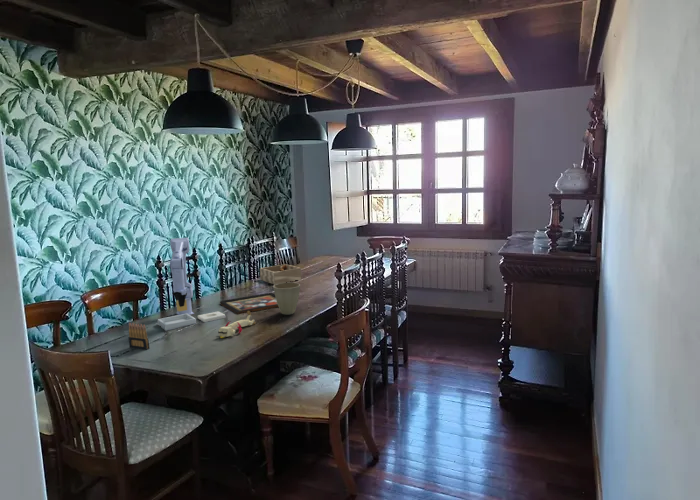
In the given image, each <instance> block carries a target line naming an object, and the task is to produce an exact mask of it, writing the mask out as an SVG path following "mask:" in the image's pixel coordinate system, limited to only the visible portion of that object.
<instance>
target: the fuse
mask: <svg viewBox="0 0 700 500" xmlns="http://www.w3.org/2000/svg"><path fill="white" fill-rule="evenodd" d="M175 303H176V310H177V311H184V310H187V301H186V300H185V304H184V306H182V307H180V306H179V302H178V300H176V299H175ZM177 311H176V312H177Z"/></svg>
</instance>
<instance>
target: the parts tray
mask: <svg viewBox="0 0 700 500" xmlns="http://www.w3.org/2000/svg"><path fill="white" fill-rule="evenodd" d="M157 324H158V326H159V327H160V326H161V327H160V328H161V329H163V330H164V331H165V332H167V331H171V330H174V329H178V328H182V327H187V326H191V325H196V324H197V318H195V317H194V316H192V314H190V315H189V314H188V313H187V314H182V315H178V314H176V315H172V316H168V317H167V316H166V317H163V318H157Z"/></svg>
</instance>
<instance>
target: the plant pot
mask: <svg viewBox="0 0 700 500" xmlns="http://www.w3.org/2000/svg"><path fill="white" fill-rule="evenodd" d="M272 288H273V293H274V294H275V297H276V301H277V304H278V306H279V307H278V309H279V311H280V313H281V315H293V314H295V312H296V309H297V305H298V301H299V297H300V288H301V284H300V283H298V282H287V283H279V284H276V285H274V284H273V287H272Z"/></svg>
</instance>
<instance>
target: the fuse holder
mask: <svg viewBox="0 0 700 500" xmlns="http://www.w3.org/2000/svg"><path fill="white" fill-rule="evenodd" d="M197 319H198V320H199V321H201V322H203V323H209V322H212V321H216V320H217V321H218V320H222V319H226V314H225V313H223V312H220V311H219V310H218V311H214V312H208V313H204V314H198V315H197Z"/></svg>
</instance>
